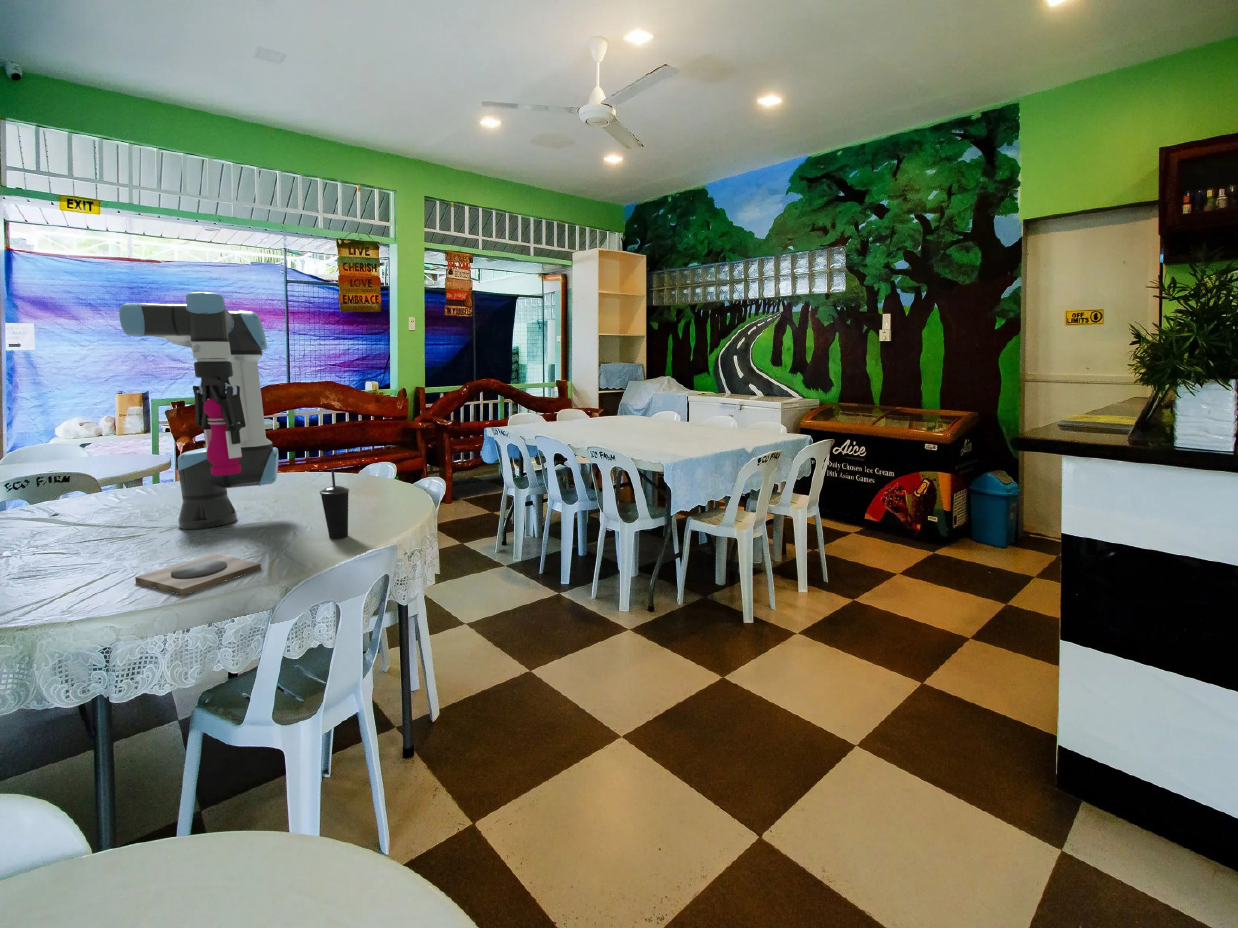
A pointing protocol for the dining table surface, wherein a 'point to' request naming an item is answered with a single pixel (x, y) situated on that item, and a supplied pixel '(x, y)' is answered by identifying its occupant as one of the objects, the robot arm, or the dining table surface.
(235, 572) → the mount board
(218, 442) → the pepper mill
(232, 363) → the robot arm
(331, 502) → the drinking cup
